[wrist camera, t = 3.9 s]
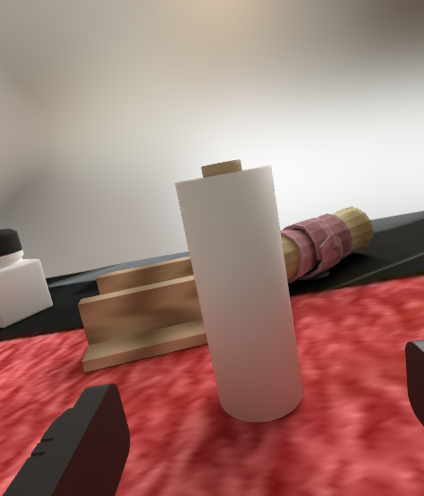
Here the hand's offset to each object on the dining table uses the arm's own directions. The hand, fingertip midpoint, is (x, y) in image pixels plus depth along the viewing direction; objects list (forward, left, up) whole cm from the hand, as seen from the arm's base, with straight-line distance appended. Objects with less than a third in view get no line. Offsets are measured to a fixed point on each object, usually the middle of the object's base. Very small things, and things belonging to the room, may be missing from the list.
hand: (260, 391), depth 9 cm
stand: (+5, -27, -8) cm, 29 cm away
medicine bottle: (+25, -40, -8) cm, 48 cm away
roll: (-2, -11, -8) cm, 14 cm away
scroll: (-15, -30, -8) cm, 34 cm away
